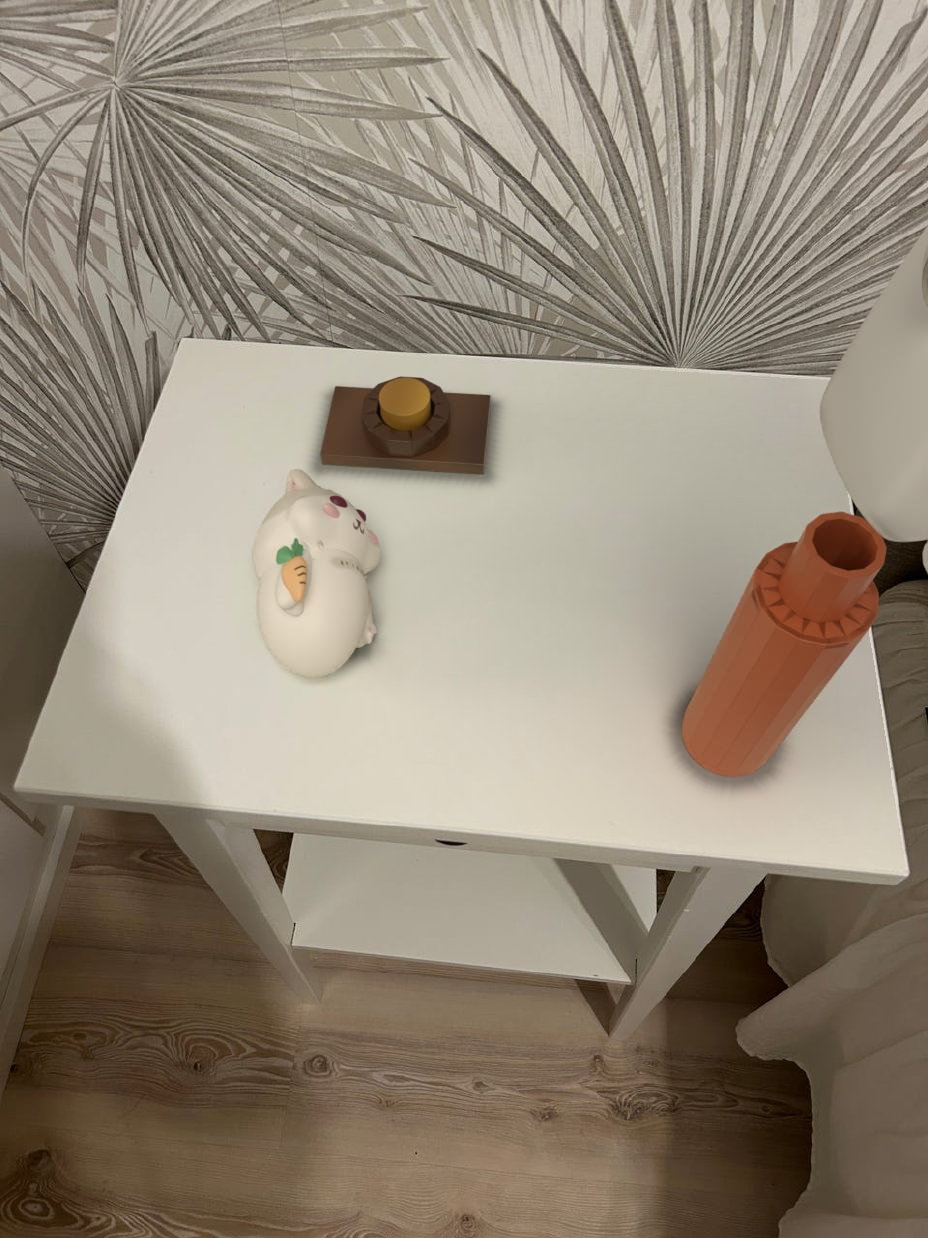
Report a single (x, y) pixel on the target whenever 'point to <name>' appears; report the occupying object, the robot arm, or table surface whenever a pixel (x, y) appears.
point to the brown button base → (407, 432)
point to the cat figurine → (314, 578)
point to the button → (405, 404)
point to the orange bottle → (784, 643)
